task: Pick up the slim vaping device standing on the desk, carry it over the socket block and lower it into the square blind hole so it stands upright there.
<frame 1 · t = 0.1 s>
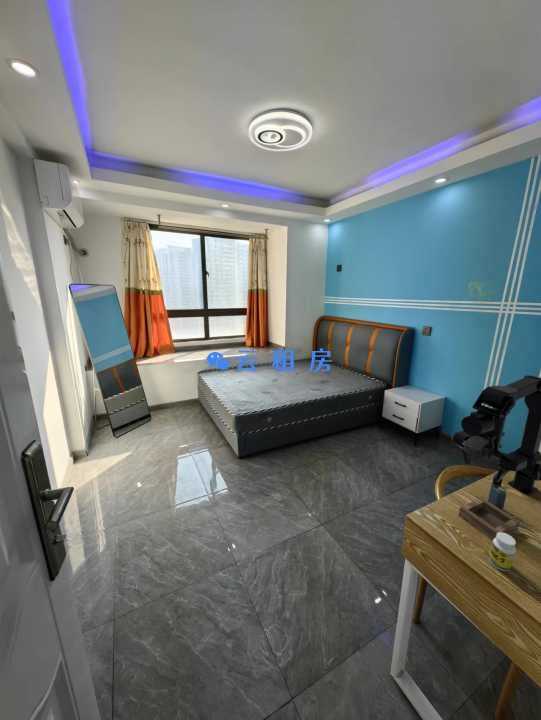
hand: (481, 472, 92), 14 cm above the table, fingers open, 9 cm apart
supplement bottle: (499, 563, 78), on the table
socket block: (487, 522, 91), on the table
vaping device: (494, 507, 97), on the table
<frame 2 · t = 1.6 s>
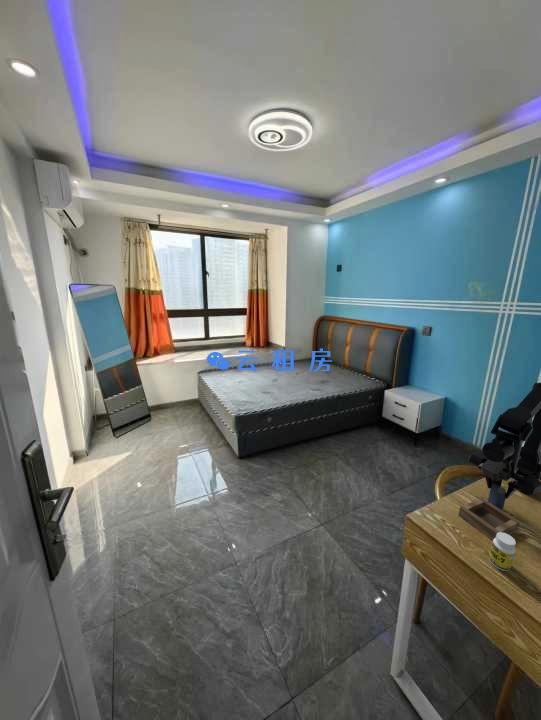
hand: (497, 493, 96), 6 cm above the table, fingers closed on vaping device, 5 cm apart
vaping device: (494, 507, 97), on the table, touching gripper
everything else where it was.
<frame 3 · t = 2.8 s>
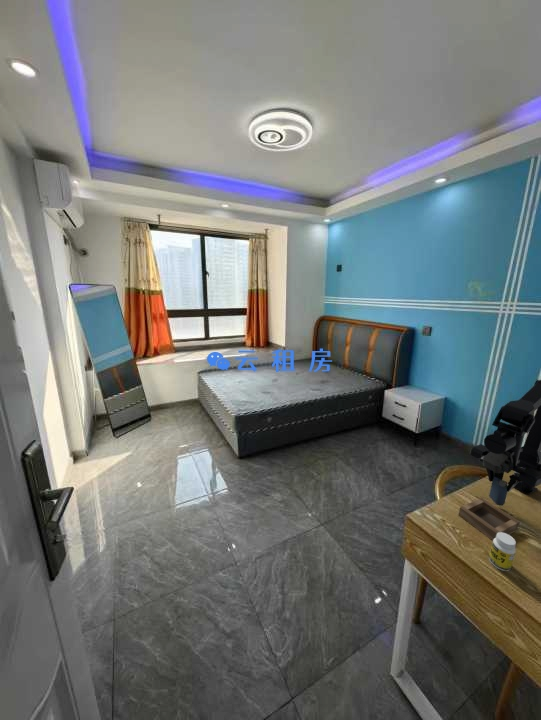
hand: (499, 486, 95), 8 cm above the table, fingers closed on vaping device, 5 cm apart
vaping device: (496, 501, 96), point 2 cm above the table, touching gripper
everything else where it was.
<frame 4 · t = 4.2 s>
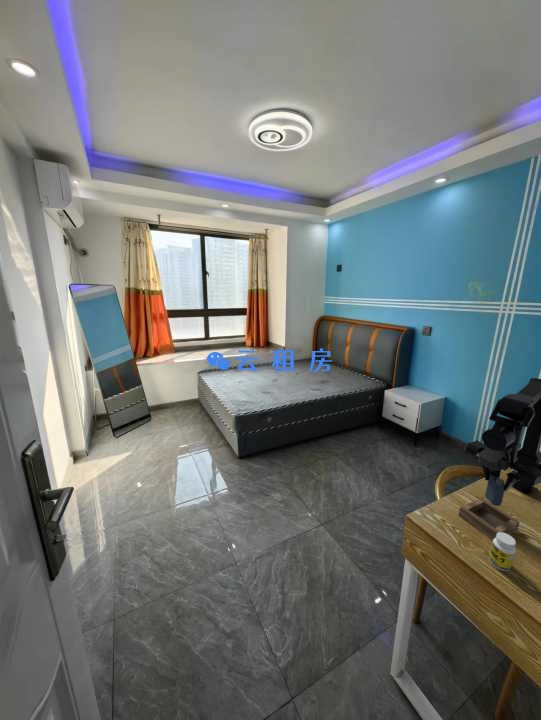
hand: (495, 485, 88), 13 cm above the table, fingers closed on vaping device, 5 cm apart
vaping device: (492, 501, 90), point 7 cm above the table, touching gripper
everything else where it was.
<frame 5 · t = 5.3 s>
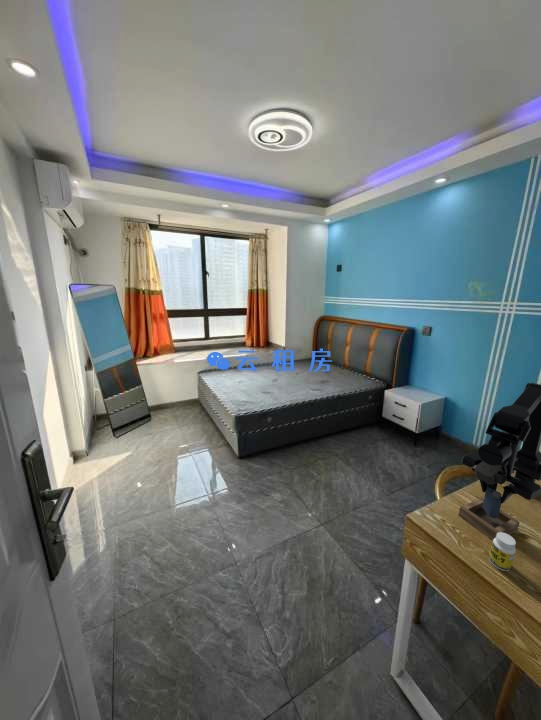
hand: (492, 497, 89), 9 cm above the table, fingers closed on vaping device, 5 cm apart
vaping device: (489, 513, 90), point 4 cm above the table, touching gripper
everything else where it was.
when the fingers open (6 cm above the table, at t = 6.5 s): vaping device stays where it is, resting on socket block.
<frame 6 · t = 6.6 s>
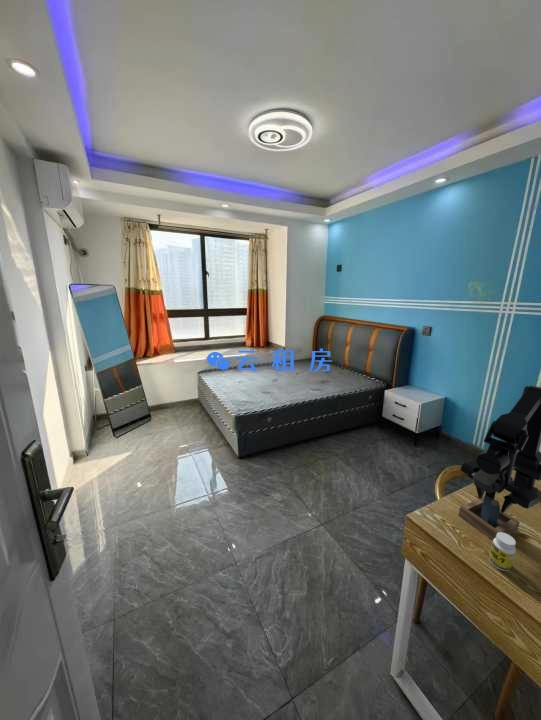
hand: (491, 505, 89), 6 cm above the table, fingers open, 6 cm apart
vaping device: (487, 521, 91), resting on socket block
everything else where it was.
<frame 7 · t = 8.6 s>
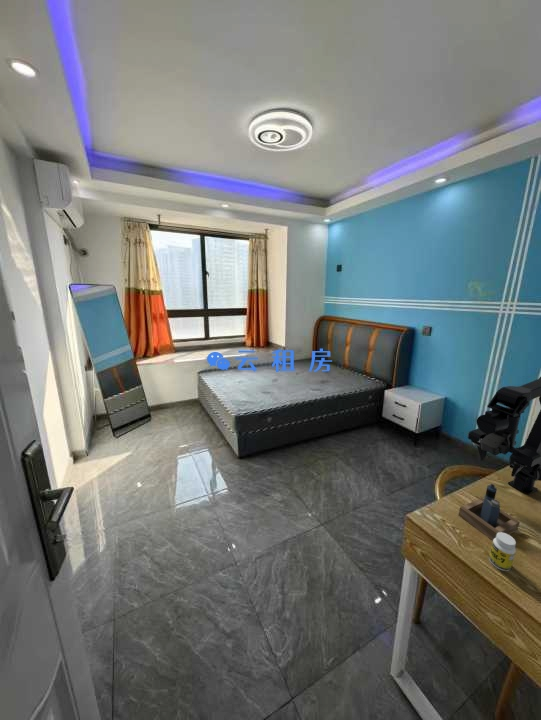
hand: (497, 468, 97), 13 cm above the table, fingers open, 9 cm apart
nothing on the table moved.
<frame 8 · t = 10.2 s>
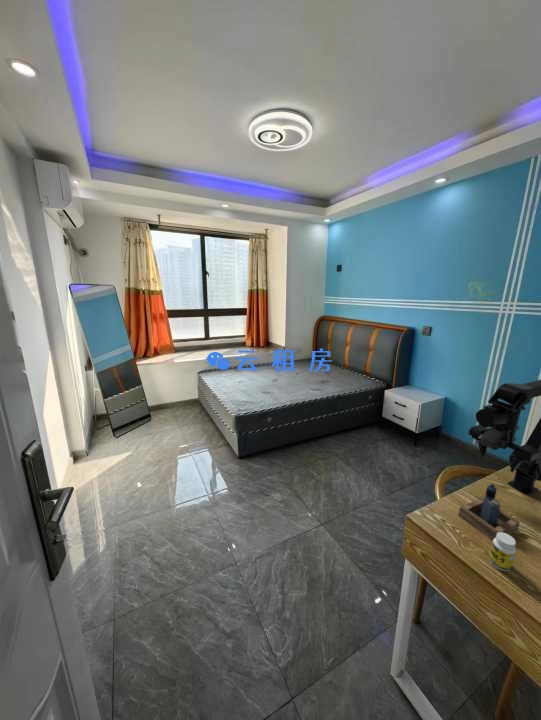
hand: (496, 463, 99), 13 cm above the table, fingers open, 9 cm apart
nothing on the table moved.
at the end: vaping device inside the target area on the socket block (0.1 cm from its centre), point 0.4 cm above the socket block's base; vaping device tilted 0°; the gripper is holding nothing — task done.
